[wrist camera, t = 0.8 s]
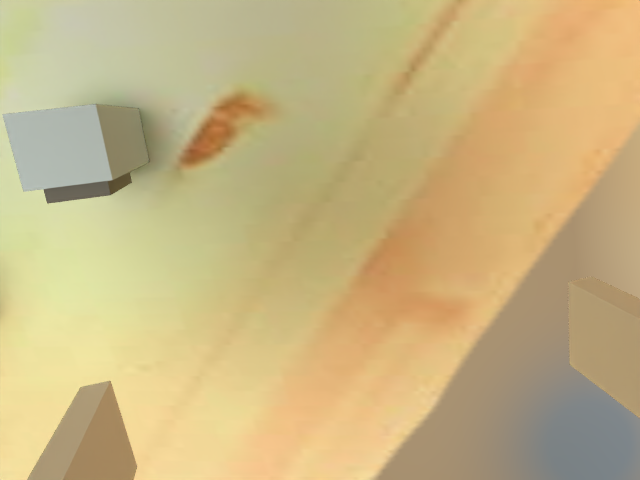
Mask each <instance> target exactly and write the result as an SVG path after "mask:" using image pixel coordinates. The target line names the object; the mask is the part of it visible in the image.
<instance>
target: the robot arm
mask: <svg viewBox="0 0 640 480" xmlns="http://www.w3.org/2000/svg"><path fill="white" fill-rule="evenodd" d="M568 295H569V296H568V299H569V300H568V301H569V357H570V358H569V363H570V365H571V366H572V367H573V368H575V369H576V370H578V371H579V372H580V373H581V374H583V375H584V376H585V377H587V378H588V379H589V380H590V381H592V382H593V383H594V384H596V385H597V386H598V387H600V388H601V389H602V390H604V391H605V392H606V393H608V394H609V395H610V396H611V397H613V398H614V399H615V400H617V401H618V402H619V403H620V404H622V405H623V406H624V407H626V408H627V409H628V410H630V411H631V412H632V413H634V414H635V415H636V416H637V417H639V418H640V299H639V298H637V297H635V296H632V295H630V294H628V293H626V292H624V291H621V290H620V289H618V288H615V287H613V286H611V285H609V284H607V283H605V282H602V281H600V280H598V279H596V278H594V277H588V278H583V279H579V280H574V281H569V282H568ZM136 469H137V464H136V461H135V458H134V455H133V452H132V448H131V445H130V442H129V439H128V436H127V432H126V429H125V426H124V423H123V419H122V416H121V413H120V410H119V407H118V403H117V400H116V397H115V394H114V391H113V387H112V384H111V381H107V382H102V383H98V384H93V385H88V386H84V387H80V389H79V391H78V392H77V394H76V396H75V398H74V399H73V401H72V403H71V405H70V406H69V408H68V410H67V411H66V413H65V415H64V417H63V418H62V420H61V422H60V424H59V425H58V427H57V429H56V430H55V432H54V434H53V436H52V437H51V439H50V441H49V443H48V444H47V446H46V448H45V450H44V451H43V453H42V455H41V456H40V458H39V460H38V462H37V463H36V465H35V467H34V469H33V470H32V472H31V474H30V475H29V477H28V479H27V480H133V479H134V476H135V473H136Z"/></svg>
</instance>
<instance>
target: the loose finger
mask: <svg viewBox="0 0 640 480" xmlns="http://www.w3.org/2000/svg"><path fill="white" fill-rule="evenodd" d="M2 115H3V118H4V122H5V126H6V129H7V133H8V137H9V140H10V144H11V148H12V151H13V155H14V159H15V162H16V166H17V170H18V173H19V177H20V181H21V184H22V188H23V192H24V191H32V190H40V189H44V193H45V197H46V200H47V203H54V202H62V201H69V200H77V199H84V198H92V197H100V196H107V195H112V194H113V193H115V192H117V191H118V190H120V189H122V188H123V187H125V186H127V185H128V184H130V183H132V181H131V176H130V171H132V170H135V169H137V168H139V167H141V166H143V165H145V164H147V163H149V157H148V152H147V147H146V142H145V137H144V132H143V127H142V122H141V117H140V113H139V108H129V107H119V106H110V105H100V104H92V105H82V106H73V107H64V108H55V109H46V110H37V111H28V112H19V113H9V114H2Z"/></svg>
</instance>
